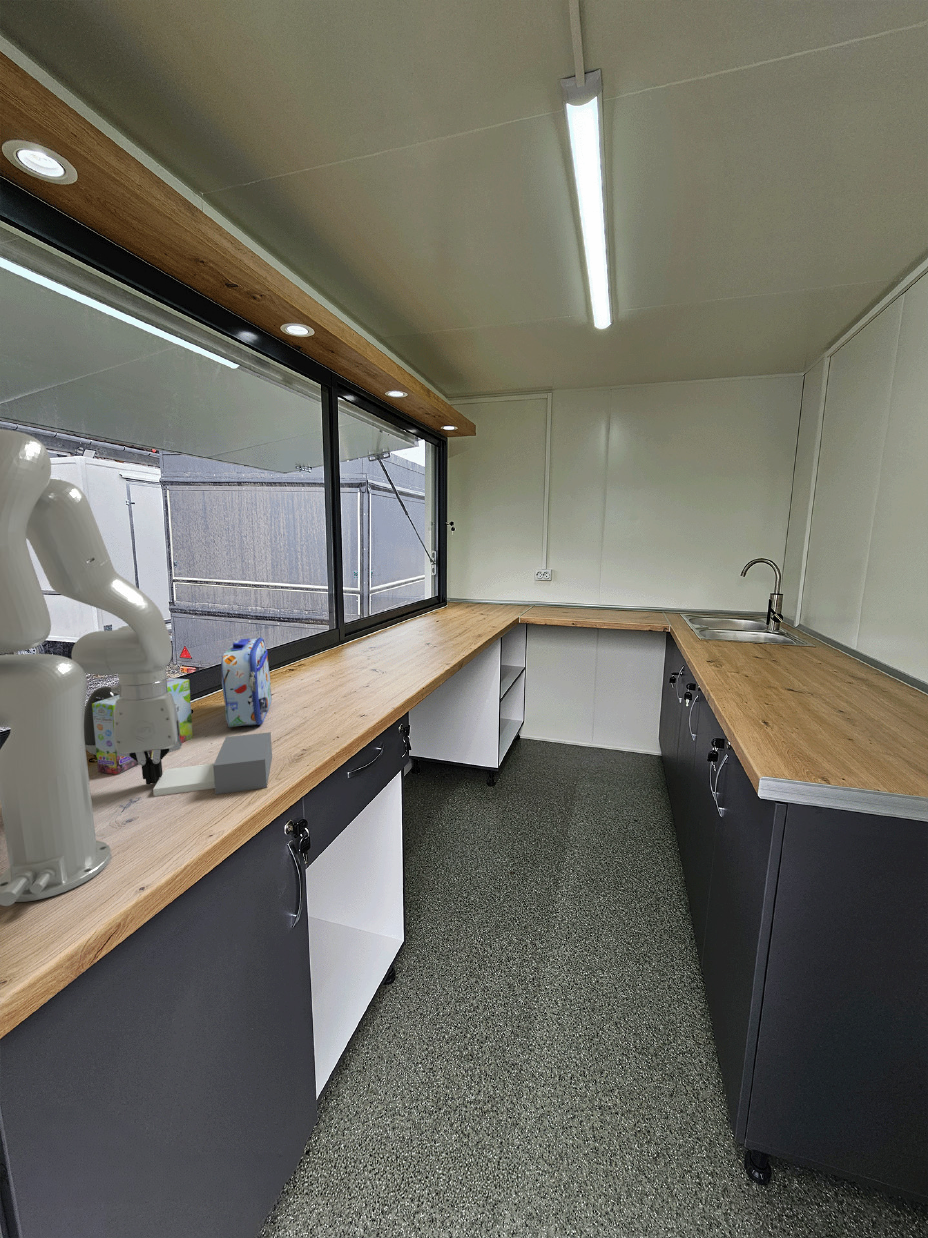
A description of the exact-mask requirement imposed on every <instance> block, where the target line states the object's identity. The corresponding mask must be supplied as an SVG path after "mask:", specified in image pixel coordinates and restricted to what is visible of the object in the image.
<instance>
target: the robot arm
mask: <svg viewBox="0 0 928 1238" xmlns="http://www.w3.org/2000/svg"><path fill="white" fill-rule="evenodd" d="M50 456H51V455H50V454H49V452H48V450H47V448H46V447H45V444H43V443H42V442H41V441H40V440H39V439H37V438H35V437H34V436H33V435H30V434H28V433H24V432H22V431H16V430H9V429H1V428H0V654H1V655H0V728H9V729H10V731H9V735H8V737H7V738H6V740H5V741H4V743H3V744H2V746H1V748H0V809H1V815H2V822H3V824H2V825H3V830H4V837H5V842H6V850H7V857H8V858H7V859H8V863H9V864H8V865H9V868H7V869H6V870H4V872H3V873H2V874H1V875H0V906H3V907H9V906H12V905H13V904H15V902H16V903H25V902H32V901H37V900H44V899H47V898H51V897H54V896H57V895H60V894H63V893H66V892H67V891H71V890H72V889H75V888H77V887H78V886H81V885H83V884H85V883H86V882H88V881H89V880H91V879H93V878H94V877H96V876H97V875H99V874H100V873H101V872H102V871H103V870H104V869H105V868H106V866H108V864H109V862H110V861H111V859H112V853H111V851H112V850H111V847H110V845H109V844H107V843H106V842H104V841H100V840H97V837H96V828H95V827H96V826H95V818H94V810H93V809H94V808H93V801H92V795H91V794H92V793H91V786H90V776H89V775H90V774H89V768H88V760H87V750H86V748H85V739H84V711H85V706H86V703H87V692H88V679H87V676H86V674H88V675H93V676H95V675H96V676H105V675H106V676H108V675H111V676H113V675H114V676H115V675H118V684H116V685H112V686H110V687H111V692H112V693H117V694H119V697H121V698H120V699H118V700H116V704H115V712H114V744H115V749H116V751H117V755H118V756H122V757H131V758H133V759H134V760H136V761H137V762H138V763H139V764H138V765H139V766H141V772H142V779H143V780H145V784H146V786H147V785H151V784H153V785H156V784H157V782H158V781H159V779H160V778H161V777H162V774H163V762H162V760H163V759H164V758H165V757H166V755H168V754H169V753H172V752H173V753H174V752H177V751H179V750H180V749H181V748H182V746H183V743H181V741H180V738H179V737H180V726H179V720H178V715H177V710H176V706H175V702H174V699H173V696H172V694H171V693H170V692H168V689H167V678H168V677H167V671H166V667H167V666H168V665H169V664H170V662H171V659H172V656H173V647H172V641H171V637H170V633H169V630H168V628H167V625H166V622H165V621H166V620H165V618H164V616H163V614H162V612H161V610H160V608H159V607H158V606H157V605H156V603H154V601H153V600H152V599H151V598H150V597H149V596H147V595H146V594H145V593H144V592H143V591H142V590H141V589H140V588H138V587H137V586H135V584H133V583H132V582H131V581H129V580H127V579H125V578H124V577H123V576H121V575H120V574H119V573H118V572H117V571H116V569H115V568H114V566H113V565H114V564H113V563H112V560H111V558H110V557H111V556H110V554H109V552H108V549H107V547H106V545H105V542H104V539H103V537H102V534H101V531H100V529H99V526H98V523H97V521H96V518H95V515H94V513H93V511H92V508H91V506H90V503H89V501H88V498H87V496H86V495H85V493H84V491H83V490H81V488H79V487H78V486H76V485H75V484H73V483H71V482H70V481H69V482H68V481H66V480H63V479H59V478H58V479H57V478H51V476H52V462H51V457H50ZM27 540H28V542H29V544H30V546H31V547H32V549H33V551H34V553H35V556H36V558H37V561H38V562H39V564H40V566H41V569H42V570H43V573H44V575H45V578H46V579H47V581H48V584H49V586H50V587H51V589H52V590H53V591H54V592H56V593H57V594H59V595H62V596H63V597H65V598H69V599H70V600H74V601H76V602H79V603H81V604H85V605H87V606H91V607H94V608H96V609H99V610H102V611H105V612H106V613H109V614H111V615H113V616H115V617H117V618H119V619H120V620H122V621H123V622H124V623H125V624H127V625H125V626H121V627H119V628H117V629H113V630H112V629H111V630H98V631H93V632H89V633H85V634H84V635H83V636H81V637H80V638H79V639H78V640H77V641H75V643H74V644H73V647H72V649H71V658H69V657H66V656H62V655H58V654H51V653H22V654H21V653H19V654H18V653H17V654H16V652H22V651H23V652H24V651H27V650H32V649H35V648H36V647H38V646H40V645H42V644H43V643H44V642H45V641H46V640H47V639H48V637H49V635H51V634H50V633H51V630H52V621H51V616H50V612H49V607H48V605H47V601H46V599H45V596H44V593H43V590H42V587H41V584H40V581H39V579H38V574H37V572H36V569H35V566H34V563H33V561H32V557H31V554H30V550H29V547H28V542H27ZM5 653H8V654H5ZM10 653H11V654H10ZM13 653H15V654H13ZM118 741H119V742H118ZM152 750H153V757H152V758H150V755H149V752H148V751H152Z"/></svg>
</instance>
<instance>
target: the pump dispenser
mask: <svg viewBox="0 0 928 1238" xmlns="http://www.w3.org/2000/svg"><path fill="white" fill-rule="evenodd" d="M111 687H112V686H101V687H99V688H96V689H94V691H93V692H91V694H90V695H89V697H88V699H87V700H86V702H85V711H84V739H85V749H86V752H88V753H90V754H91V755H93V756H97V754H96V743H95V732H94V721H93V710H92V704H93V703H95V702H98V701H101V700H104V699H108V698H111V697H114V696H117V695H119V694H117V693H112V692H111Z"/></svg>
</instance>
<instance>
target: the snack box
mask: <svg viewBox="0 0 928 1238" xmlns="http://www.w3.org/2000/svg"><path fill="white" fill-rule="evenodd" d="M167 689H168V692H170V693H171V694H172V696H173V699H174V702H175V706H176V710H177V715H178V720H179V726H180V737H179V738H180V741H181V743H182V744H183V743H185V742H187V741H189V740H191V739H193V738H194V737H193V734H194V733H193V723H192V721H193V720H192V719H193V718H192V717H193V716H192V704H191V689H190V679H188V678H187V679H186V678H172V677H171V678H168V679H167ZM120 698H121V697H119V695H117V696H114V697H111V698H108V699H104V700H101V701H98V702H95V703H93V704H92V710H93V721H94V732H95V743H96V754H97V755H96V765H97V772H98V773H103V774H112V775H120V774H121V773H124V772H126V771H128V770H129V769H130V770H131V768H134V767H136V766H137V765H139V763H138V762H137V761H136V760H134V759H133V758H131V757H122V756H118V755H117V751H116V749H115V744H114V712H115V704H116V700H118V699H120ZM118 742H119V741H118ZM148 752H149V755H150V758H151V759H153V750H152V751H148Z"/></svg>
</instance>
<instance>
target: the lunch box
mask: <svg viewBox="0 0 928 1238" xmlns="http://www.w3.org/2000/svg"><path fill="white" fill-rule="evenodd" d="M268 654H269V653H268V650H267V649H266V644H265V639H264V638H263V637H258V638H241V639H236V640H235V641H234V642H233V643H232V645H230V646H229V648H228V649H227V650H226V651H224V652H223V655H222V657H221V661H220V662H221V664H220V665H221V666H220V667H221V687H222V693H223V694H222V695H223V701H224V706H225V707H224V709H225V713H224V714H225V721H226V723H227V726H228V728H233V727H244V726H256V725H258V726H260V725H262V724H263V723H264V721H265V719H266V716H267V714H268V712H269V711H270V707H271V703H272V700H273V699H272V688H271V675H270V667H269V660H268V659H269V658H268Z"/></svg>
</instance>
